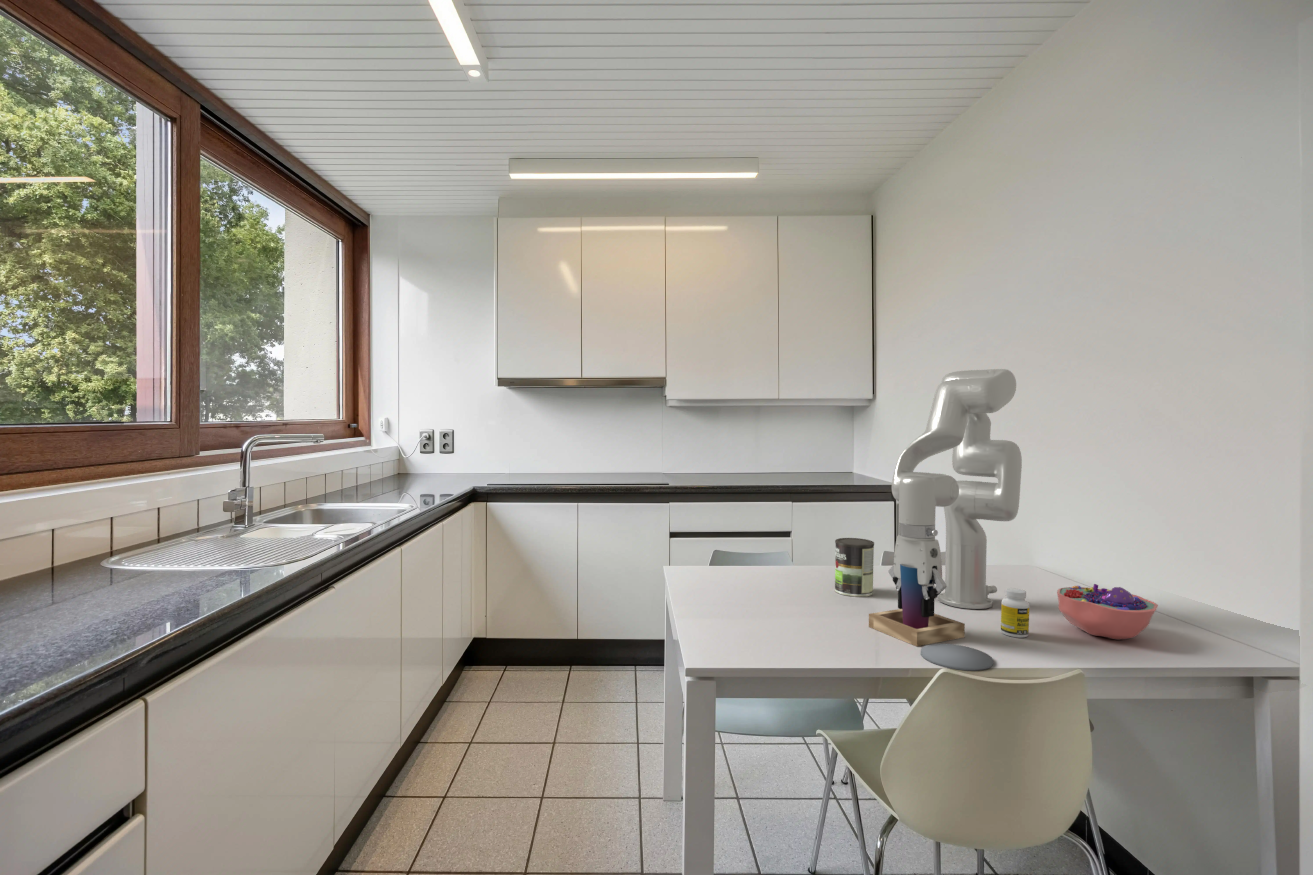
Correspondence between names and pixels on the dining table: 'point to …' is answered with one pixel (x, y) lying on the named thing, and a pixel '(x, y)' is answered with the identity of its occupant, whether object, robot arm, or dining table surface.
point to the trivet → (956, 657)
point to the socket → (934, 633)
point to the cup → (912, 598)
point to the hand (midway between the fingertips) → (915, 611)
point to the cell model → (1106, 611)
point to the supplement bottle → (1015, 613)
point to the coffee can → (854, 567)
